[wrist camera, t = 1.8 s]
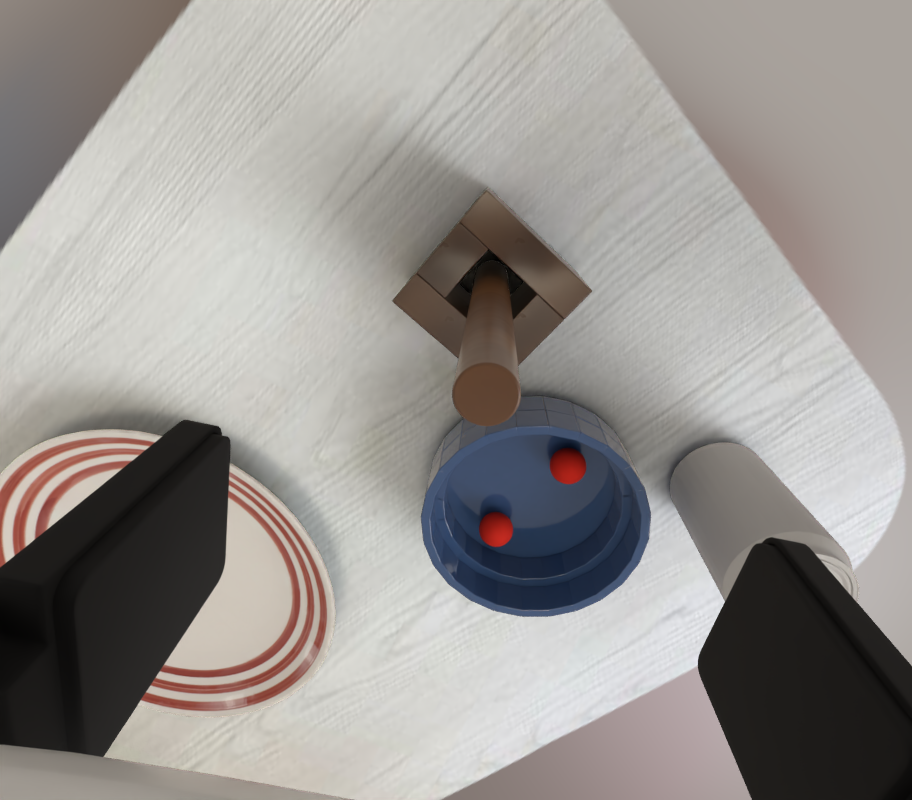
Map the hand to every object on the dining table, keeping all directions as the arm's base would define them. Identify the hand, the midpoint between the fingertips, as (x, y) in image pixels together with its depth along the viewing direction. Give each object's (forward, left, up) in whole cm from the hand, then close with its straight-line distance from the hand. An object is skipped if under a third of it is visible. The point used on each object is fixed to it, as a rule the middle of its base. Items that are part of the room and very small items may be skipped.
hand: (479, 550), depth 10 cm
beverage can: (-21, 0, -27) cm, 34 cm away
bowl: (-12, +9, -27) cm, 31 cm away
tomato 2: (-12, +5, -26) cm, 29 cm away
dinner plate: (+3, +34, -27) cm, 43 cm away
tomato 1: (-12, +12, -26) cm, 31 cm away
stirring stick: (0, 0, -27) cm, 27 cm away
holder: (0, 0, -27) cm, 27 cm away
